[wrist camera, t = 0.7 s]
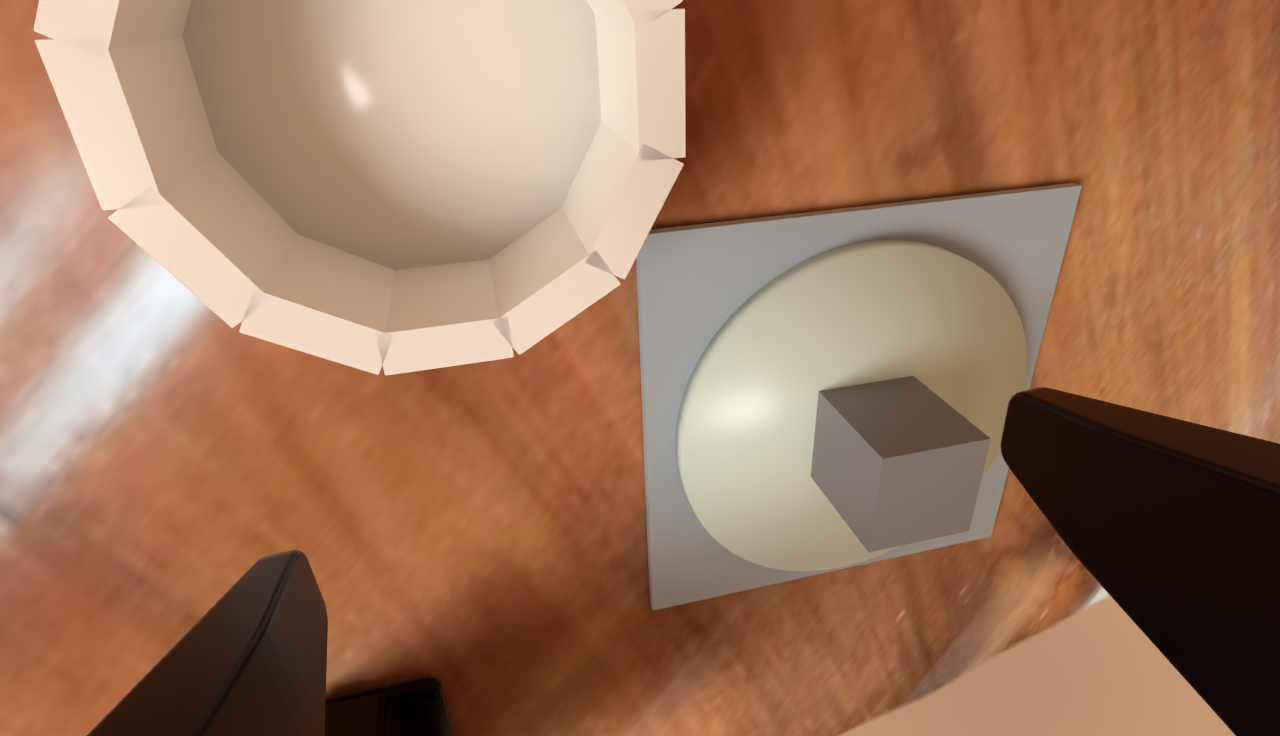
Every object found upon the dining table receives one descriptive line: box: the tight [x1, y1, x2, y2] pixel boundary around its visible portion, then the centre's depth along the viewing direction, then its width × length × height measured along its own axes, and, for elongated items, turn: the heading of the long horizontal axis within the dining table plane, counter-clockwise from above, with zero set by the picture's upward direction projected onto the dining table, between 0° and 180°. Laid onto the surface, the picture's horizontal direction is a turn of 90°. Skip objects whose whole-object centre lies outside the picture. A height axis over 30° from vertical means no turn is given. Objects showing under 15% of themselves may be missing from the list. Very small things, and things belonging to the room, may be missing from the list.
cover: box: [675, 239, 1028, 571], centre depth 23 cm, size 13×13×5 cm
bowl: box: [33, 0, 686, 375], centre depth 15 cm, size 11×11×5 cm
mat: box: [636, 183, 1082, 611], centre depth 26 cm, size 15×15×1 cm
